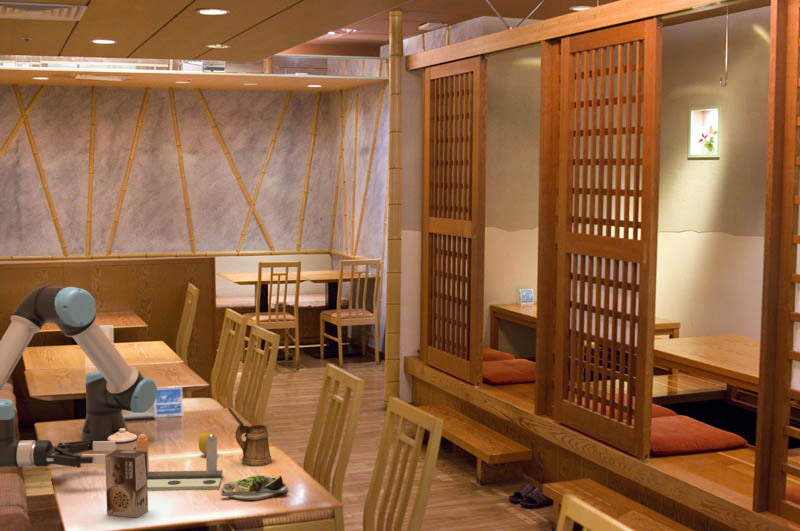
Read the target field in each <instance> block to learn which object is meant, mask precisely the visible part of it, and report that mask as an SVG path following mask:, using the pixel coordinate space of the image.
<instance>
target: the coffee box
mask: <svg viewBox="0 0 800 531" xmlns="http://www.w3.org/2000/svg"><path fill="white" fill-rule="evenodd" d="M104 466H105V487H106V488H105V490H106V515H107V514H108V515H107V516H115V515H117V516H118V517H128V518H129V517H130V518H138V517H140V516H141V515H143V514H145V513H146V512H148V511H149V498H148V497H149V496H148V488H147V452H145V451H132V450H115V451H113V452H112V453H110V454H108V453H107V454H105V464H104Z"/></svg>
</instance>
